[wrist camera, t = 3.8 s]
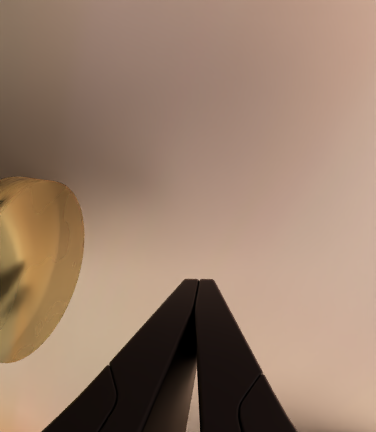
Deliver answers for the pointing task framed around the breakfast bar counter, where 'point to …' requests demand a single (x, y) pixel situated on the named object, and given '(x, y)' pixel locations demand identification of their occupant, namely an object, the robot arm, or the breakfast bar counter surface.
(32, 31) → the breakfast bar counter surface
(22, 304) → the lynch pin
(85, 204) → the breakfast bar counter surface
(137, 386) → the robot arm
